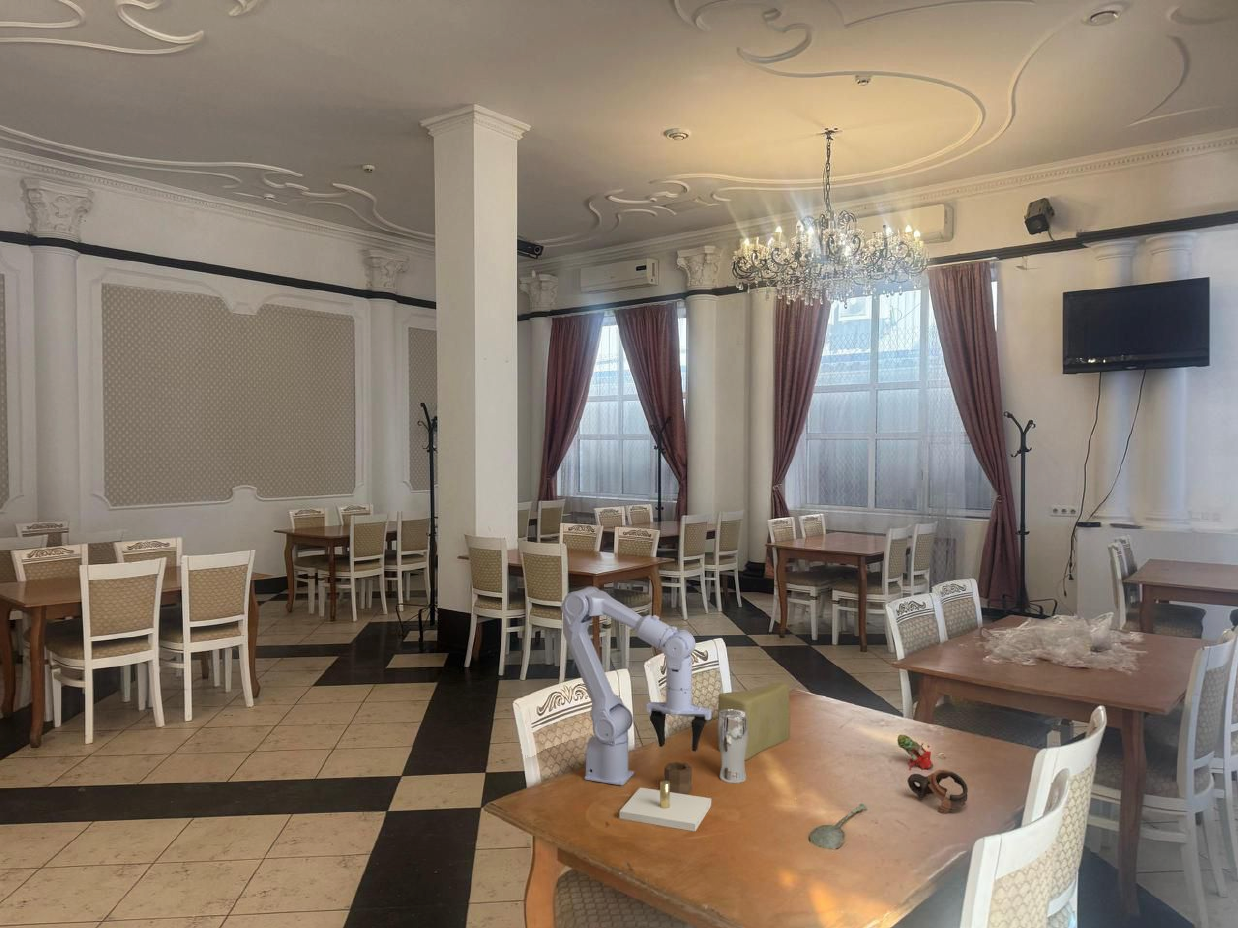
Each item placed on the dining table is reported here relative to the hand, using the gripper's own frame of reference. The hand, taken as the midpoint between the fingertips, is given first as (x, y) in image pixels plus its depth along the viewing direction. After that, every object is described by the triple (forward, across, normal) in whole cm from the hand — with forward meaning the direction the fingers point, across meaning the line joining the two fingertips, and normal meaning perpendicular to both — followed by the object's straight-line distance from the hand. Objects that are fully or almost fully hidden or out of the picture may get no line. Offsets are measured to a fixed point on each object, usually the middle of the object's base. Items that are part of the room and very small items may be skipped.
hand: (678, 747), depth 180 cm
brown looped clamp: (+10, +54, +13) cm, 56 cm away
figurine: (+10, +50, +34) cm, 61 cm away
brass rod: (+9, +1, -13) cm, 16 cm away
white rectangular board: (+9, +1, -12) cm, 15 cm away
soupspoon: (+10, +36, -6) cm, 38 cm away
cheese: (+10, +12, +34) cm, 37 cm away
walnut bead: (+9, 0, 0) cm, 9 cm away
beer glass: (+10, +10, +11) cm, 18 cm away
